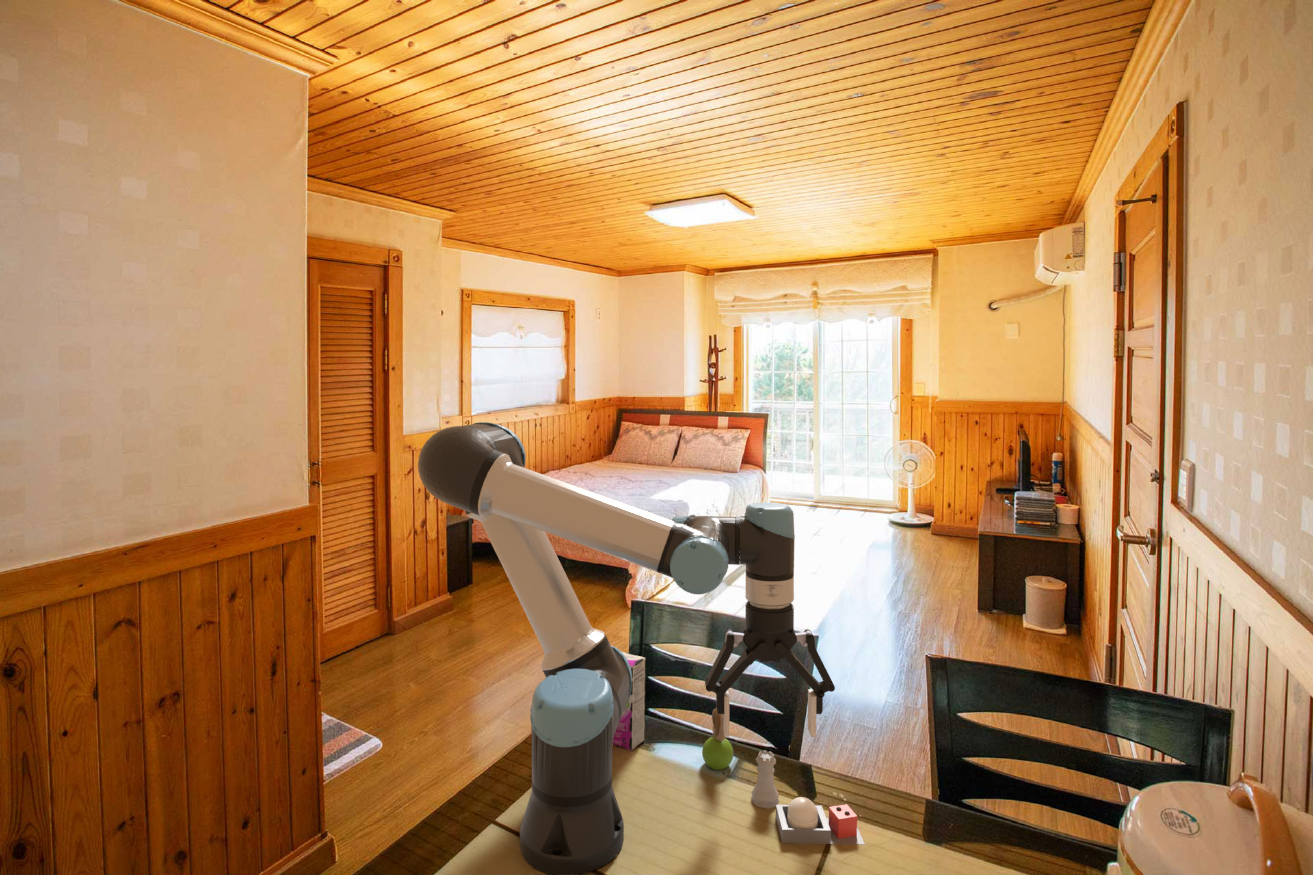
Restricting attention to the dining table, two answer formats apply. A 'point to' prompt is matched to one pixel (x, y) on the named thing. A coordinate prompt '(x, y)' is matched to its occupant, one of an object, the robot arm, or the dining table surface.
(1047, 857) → the dining table surface
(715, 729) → the snail figurine
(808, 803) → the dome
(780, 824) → the grey compartment tray
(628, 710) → the candy bar box
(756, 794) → the rook chess piece
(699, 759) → the dining table surface
